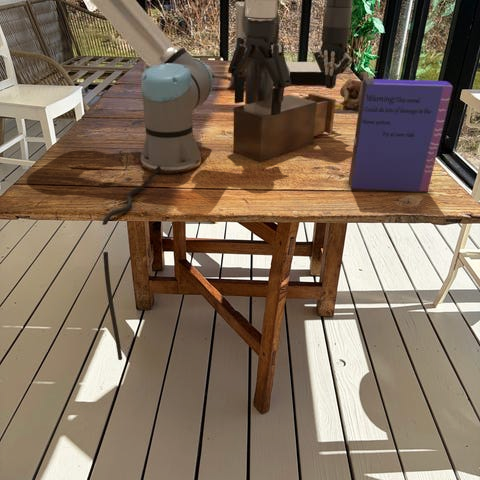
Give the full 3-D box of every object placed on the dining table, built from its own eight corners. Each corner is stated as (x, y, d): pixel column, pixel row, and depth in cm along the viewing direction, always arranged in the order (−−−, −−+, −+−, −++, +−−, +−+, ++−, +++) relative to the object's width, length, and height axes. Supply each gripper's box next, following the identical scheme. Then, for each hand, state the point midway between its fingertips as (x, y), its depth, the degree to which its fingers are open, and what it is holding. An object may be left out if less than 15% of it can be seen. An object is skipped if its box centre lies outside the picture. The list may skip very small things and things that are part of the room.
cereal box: (422, 183, 114) (445, 80, 101) (427, 192, 110) (453, 85, 97) (348, 180, 115) (363, 77, 102) (351, 189, 111) (366, 83, 98)
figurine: (210, 87, 179) (288, 95, 182) (212, 65, 176) (291, 73, 180) (208, 84, 201) (278, 91, 205) (210, 64, 198) (280, 71, 202)
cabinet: (285, 134, 144) (288, 94, 138) (313, 143, 137) (317, 101, 131) (233, 150, 131) (233, 107, 125) (260, 161, 125) (262, 116, 119)
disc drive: (289, 84, 198) (290, 71, 196) (284, 72, 218) (284, 61, 215) (331, 84, 199) (332, 72, 196) (322, 72, 218) (323, 61, 215)
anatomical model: (349, 110, 180) (352, 112, 166) (333, 93, 179) (334, 95, 165) (374, 84, 176) (379, 84, 162) (358, 67, 175) (361, 66, 161)
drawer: (319, 121, 152) (323, 89, 147) (343, 128, 146) (348, 96, 141) (262, 139, 137) (263, 104, 132) (286, 148, 131) (288, 112, 126)
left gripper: (311, 23, 107) (302, 116, 119) (236, 12, 123) (235, 95, 134) (289, 26, 103) (282, 122, 114) (214, 14, 118) (214, 100, 129)
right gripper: (364, 25, 130) (355, 90, 139) (326, 21, 139) (320, 82, 147) (348, 28, 126) (340, 94, 135) (309, 23, 134) (304, 86, 143)
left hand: (256, 108), depth 124 cm, fingers open, 13 cm apart
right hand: (329, 88), depth 141 cm, fingers closed
